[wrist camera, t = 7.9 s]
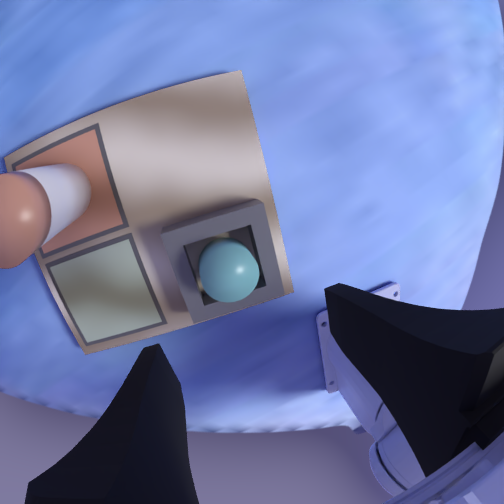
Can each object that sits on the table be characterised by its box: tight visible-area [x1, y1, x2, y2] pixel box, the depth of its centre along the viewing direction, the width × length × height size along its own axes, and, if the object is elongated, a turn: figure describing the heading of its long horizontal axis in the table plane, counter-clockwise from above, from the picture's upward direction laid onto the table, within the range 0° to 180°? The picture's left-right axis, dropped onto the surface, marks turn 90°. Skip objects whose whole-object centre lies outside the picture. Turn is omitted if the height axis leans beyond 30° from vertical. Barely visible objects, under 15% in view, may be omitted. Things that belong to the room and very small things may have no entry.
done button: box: [198, 237, 259, 302], centre depth 18 cm, size 3×3×2 cm
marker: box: [0, 163, 91, 269], centre depth 12 cm, size 4×4×8 cm
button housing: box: [160, 199, 285, 324], centre depth 19 cm, size 6×6×2 cm
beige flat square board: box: [4, 70, 294, 355], centre depth 18 cm, size 15×16×1 cm
